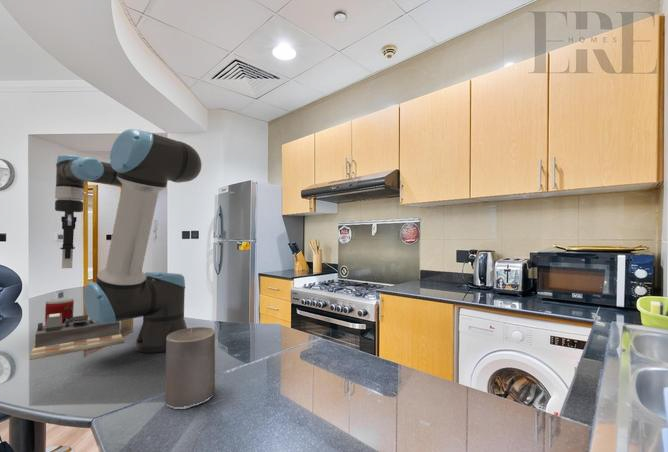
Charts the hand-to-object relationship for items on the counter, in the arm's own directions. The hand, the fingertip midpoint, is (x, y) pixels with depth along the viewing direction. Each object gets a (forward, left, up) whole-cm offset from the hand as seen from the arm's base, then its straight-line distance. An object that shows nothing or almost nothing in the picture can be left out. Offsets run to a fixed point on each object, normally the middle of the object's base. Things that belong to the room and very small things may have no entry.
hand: (66, 268), depth 108 cm
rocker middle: (-7, +3, -17) cm, 18 cm away
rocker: (-1, +7, -17) cm, 18 cm away
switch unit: (-9, +6, -24) cm, 26 cm away
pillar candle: (-57, +47, -24) cm, 77 cm away
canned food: (+9, -11, -24) cm, 28 cm away
